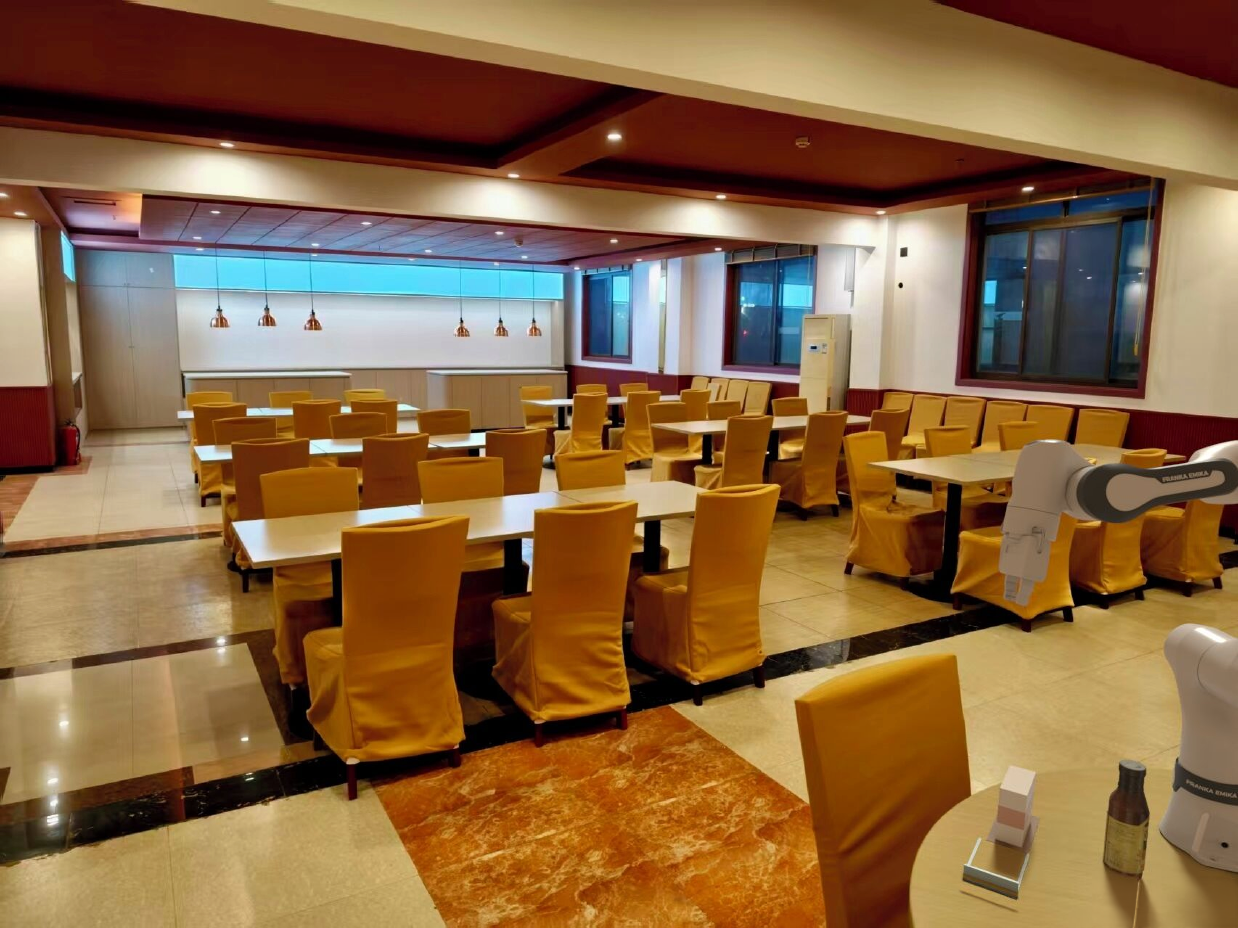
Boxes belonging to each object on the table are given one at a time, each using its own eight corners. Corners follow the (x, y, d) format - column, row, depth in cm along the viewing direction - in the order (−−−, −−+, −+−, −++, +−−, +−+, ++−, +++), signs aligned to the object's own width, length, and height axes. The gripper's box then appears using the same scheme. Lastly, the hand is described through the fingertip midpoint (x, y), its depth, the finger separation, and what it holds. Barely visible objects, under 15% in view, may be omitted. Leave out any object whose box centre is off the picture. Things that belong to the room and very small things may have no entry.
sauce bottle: (1149, 886, 144) (1162, 777, 141) (1108, 881, 145) (1121, 773, 142) (1134, 863, 151) (1147, 758, 147) (1095, 858, 152) (1107, 754, 149)
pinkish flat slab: (1039, 825, 162) (1040, 818, 161) (1027, 861, 151) (1028, 853, 150) (999, 813, 166) (1000, 806, 165) (985, 847, 154) (986, 839, 154)
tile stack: (1031, 821, 160) (1036, 772, 159) (1021, 847, 152) (1027, 795, 150) (1005, 813, 163) (1010, 764, 161) (994, 838, 155) (999, 787, 153)
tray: (1029, 861, 150) (1030, 846, 150) (1016, 900, 140) (1018, 883, 140) (978, 844, 155) (979, 829, 155) (962, 880, 145) (964, 864, 144)
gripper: (1065, 531, 142) (1049, 612, 142) (1034, 530, 162) (1020, 602, 162) (1025, 523, 143) (1008, 603, 143) (999, 523, 163) (985, 594, 163)
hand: (1014, 602), depth 152 cm, fingers open, 8 cm apart
